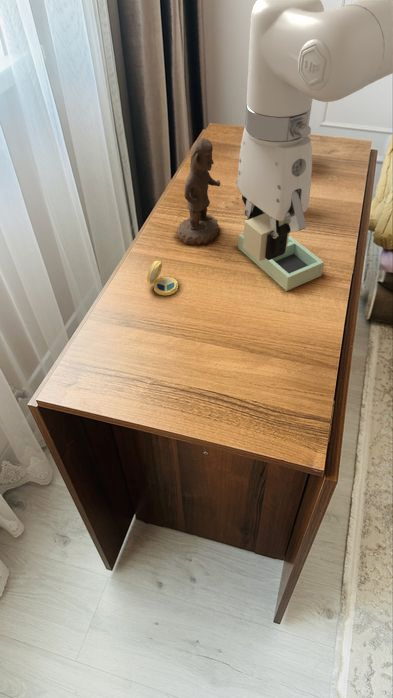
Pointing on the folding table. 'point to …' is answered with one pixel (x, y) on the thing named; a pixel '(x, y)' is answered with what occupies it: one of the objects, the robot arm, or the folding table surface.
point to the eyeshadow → (161, 280)
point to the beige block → (257, 235)
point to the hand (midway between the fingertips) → (265, 246)
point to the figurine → (199, 197)
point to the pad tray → (289, 264)
